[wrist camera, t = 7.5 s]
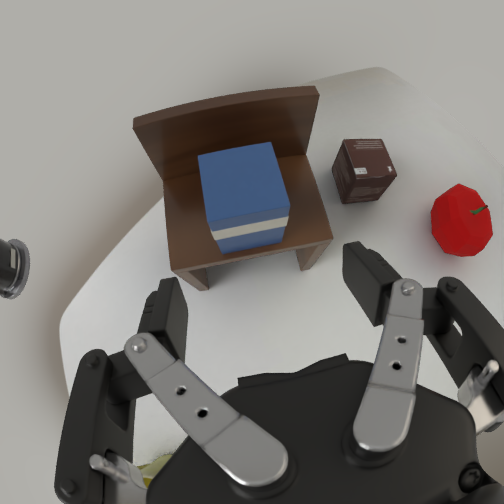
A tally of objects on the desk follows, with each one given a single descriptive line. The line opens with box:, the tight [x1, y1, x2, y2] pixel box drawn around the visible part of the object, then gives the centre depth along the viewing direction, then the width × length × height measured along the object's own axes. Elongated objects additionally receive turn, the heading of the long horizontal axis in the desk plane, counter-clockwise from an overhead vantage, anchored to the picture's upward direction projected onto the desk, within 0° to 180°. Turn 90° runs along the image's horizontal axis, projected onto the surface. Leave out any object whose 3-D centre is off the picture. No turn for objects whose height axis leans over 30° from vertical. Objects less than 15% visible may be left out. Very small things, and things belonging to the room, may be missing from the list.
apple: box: [431, 184, 493, 257], centre depth 31 cm, size 11×11×10 cm
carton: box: [198, 142, 290, 254], centre depth 20 cm, size 5×5×7 cm
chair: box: [133, 86, 333, 291], centre depth 26 cm, size 10×14×20 cm
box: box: [332, 139, 397, 204], centre depth 34 cm, size 6×6×7 cm
